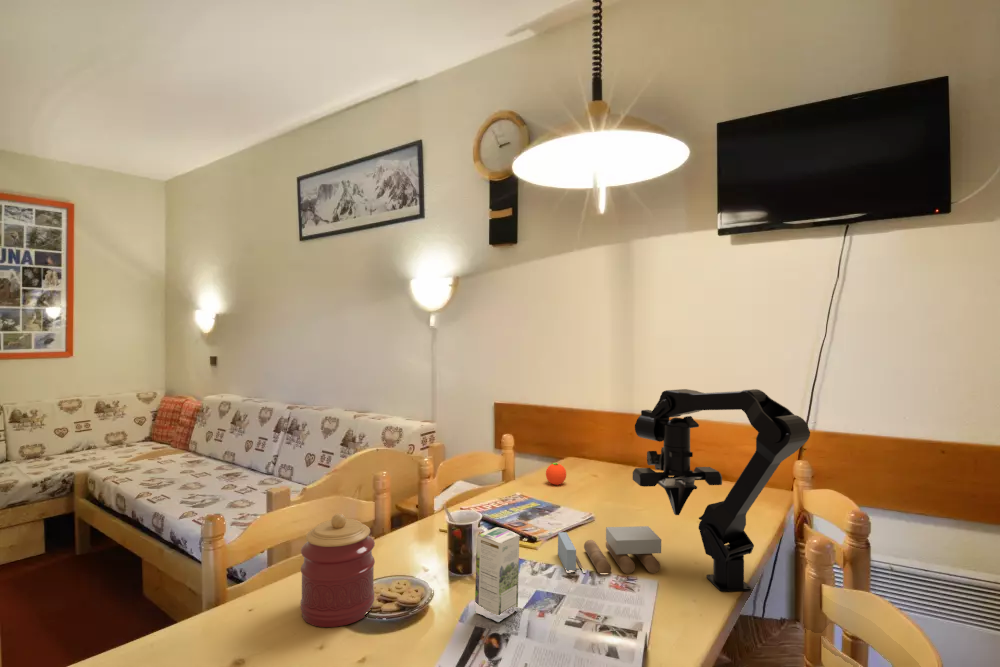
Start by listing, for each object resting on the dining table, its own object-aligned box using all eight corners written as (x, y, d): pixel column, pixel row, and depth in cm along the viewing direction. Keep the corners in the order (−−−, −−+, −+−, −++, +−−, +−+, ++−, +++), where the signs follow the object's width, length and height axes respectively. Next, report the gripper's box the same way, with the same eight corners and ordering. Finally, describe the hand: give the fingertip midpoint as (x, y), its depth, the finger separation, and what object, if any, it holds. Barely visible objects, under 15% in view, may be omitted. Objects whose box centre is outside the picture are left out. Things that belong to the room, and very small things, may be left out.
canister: (380, 592, 106) (380, 502, 106) (366, 629, 93) (366, 526, 93) (313, 593, 106) (313, 502, 105) (289, 629, 93) (290, 526, 92)
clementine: (541, 481, 185) (541, 460, 185) (560, 480, 187) (560, 459, 187) (550, 488, 178) (550, 466, 178) (569, 486, 180) (570, 465, 180)
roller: (602, 578, 114) (613, 570, 115) (594, 567, 114) (605, 558, 114) (588, 555, 126) (599, 547, 127) (581, 544, 126) (591, 537, 126)
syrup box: (494, 601, 103) (495, 525, 103) (519, 612, 99) (519, 532, 99) (474, 613, 98) (474, 534, 98) (499, 625, 95) (500, 542, 94)
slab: (661, 553, 118) (661, 539, 118) (616, 554, 117) (616, 540, 117) (648, 539, 125) (648, 526, 125) (605, 540, 125) (606, 527, 125)
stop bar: (575, 573, 115) (576, 549, 115) (566, 573, 115) (566, 549, 115) (566, 553, 125) (566, 532, 125) (557, 554, 125) (558, 532, 125)
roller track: (660, 572, 115) (660, 558, 115) (583, 575, 114) (583, 560, 114) (640, 550, 127) (641, 537, 127) (571, 551, 126) (571, 539, 126)
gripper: (700, 437, 131) (700, 502, 131) (625, 438, 129) (624, 504, 129) (723, 447, 120) (723, 518, 119) (641, 448, 118) (640, 520, 118)
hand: (676, 514), depth 122 cm, fingers closed
